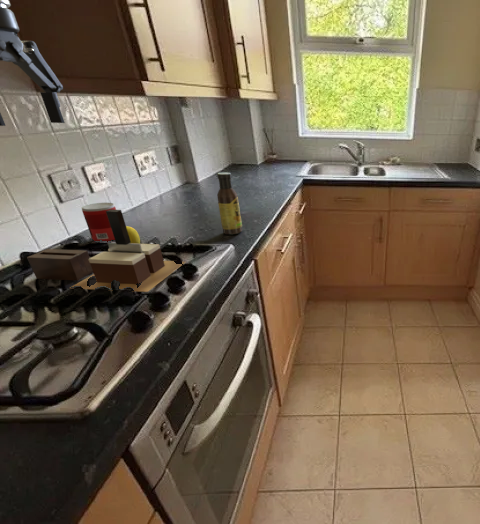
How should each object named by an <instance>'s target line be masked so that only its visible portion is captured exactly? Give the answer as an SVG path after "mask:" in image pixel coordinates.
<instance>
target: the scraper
mask: <svg viewBox="0 0 480 524" xmlns="http://www.w3.org/2000/svg"><path fill="white" fill-rule="evenodd" d="M106 214H107V217H108V220H109V223H110V226H111V229H112V232H113V235H114V238H115V241H114V242H111V243H107V247H108V249H110V252H122V253H143V252H142V249H141V246H140V244H141V243H140V244H130V243H131V241H130V238H129V234H128V231H127V228H126V226H127V225H126V221H125V217H124V215H123V210H121V209H116V210H108V211H106Z"/></svg>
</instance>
